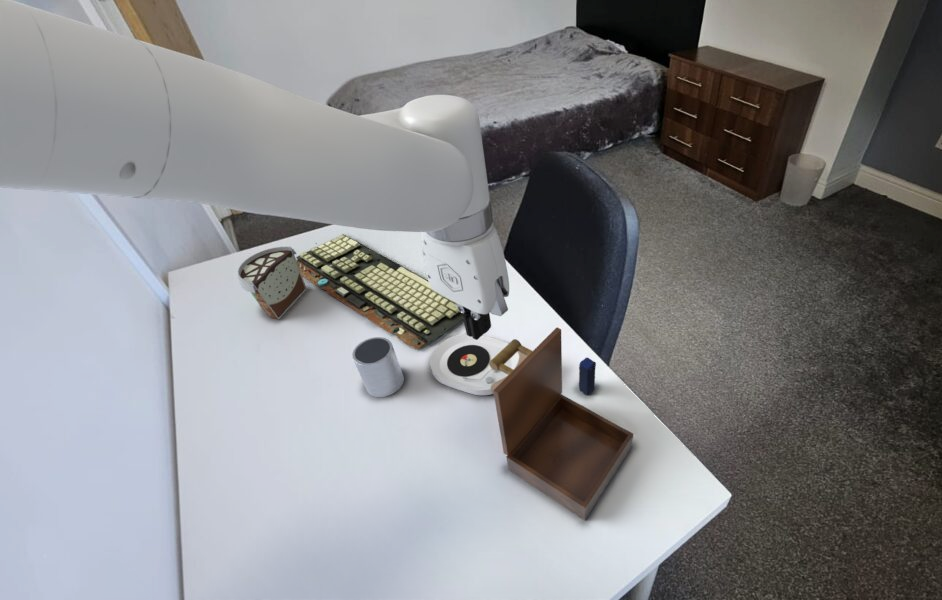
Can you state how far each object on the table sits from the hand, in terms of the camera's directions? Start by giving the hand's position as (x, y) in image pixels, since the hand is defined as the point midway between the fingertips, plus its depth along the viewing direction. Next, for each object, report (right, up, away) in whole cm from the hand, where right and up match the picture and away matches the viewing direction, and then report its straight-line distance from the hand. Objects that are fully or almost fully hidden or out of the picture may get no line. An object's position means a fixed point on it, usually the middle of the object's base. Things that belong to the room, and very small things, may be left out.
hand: (479, 331), depth 64 cm
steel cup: (-19, -10, +15) cm, 26 cm away
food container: (-47, +4, +30) cm, 55 cm away
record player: (-3, -8, +18) cm, 20 cm away
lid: (+8, -9, 0) cm, 11 cm away
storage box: (+12, -19, +5) cm, 23 cm away
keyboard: (-29, +7, +34) cm, 45 cm away
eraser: (+15, -11, +15) cm, 24 cm away
